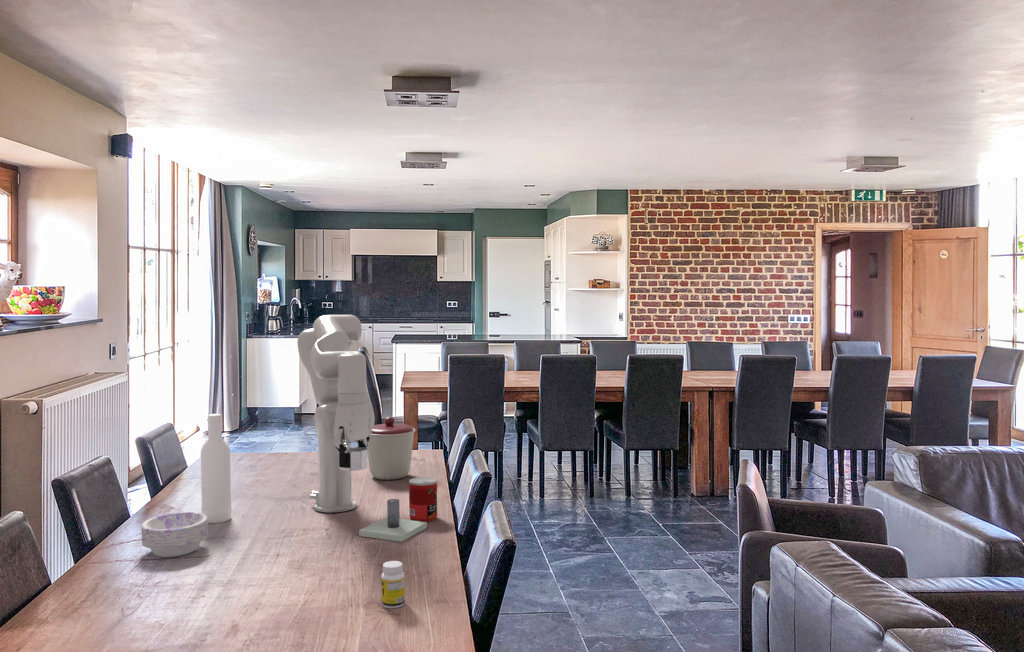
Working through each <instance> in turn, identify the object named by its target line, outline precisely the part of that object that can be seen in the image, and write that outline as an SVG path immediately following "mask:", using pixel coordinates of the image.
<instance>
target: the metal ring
mask: <svg viewBox="0 0 1024 652" xmlns="http://www.w3.org/2000/svg"><path fill="white" fill-rule="evenodd" d="M366 448H367V447H366ZM366 448H364V447H358V446H350V448H349V452H348V453H350V468H342V467H340V469H341V470H346V471H351V472H353V471H354V472H355V471H362V470H365V469H368V454H367V449H366Z"/></svg>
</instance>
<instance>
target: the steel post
mask: <svg viewBox="0 0 1024 652" xmlns="http://www.w3.org/2000/svg"><path fill="white" fill-rule="evenodd" d="M386 501H387V502H386V504H387V505H386V506H387V508H386V510H387V511H386V512H387V513H386V515H387V523H388V527H389V528H397V527H399V526H400V519H401V518H400V499H399V498H389V499H387V500H386Z"/></svg>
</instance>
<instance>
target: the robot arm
mask: <svg viewBox="0 0 1024 652" xmlns="http://www.w3.org/2000/svg"><path fill="white" fill-rule="evenodd" d="M362 327H363V326H362V323H361V321H360V319H359V318H358V317H357V316H356V315H353V314H324V315H321V316H319V317H317V318H316V319H315V320H314V321H313V324H312V328H307V329H305V330H302V331H301V332H300V333H299V334H298V336H297V349H298V350H297V351H298V355H299V358H300V360H301V363H302V364H303V366H304V368H305V369H306V371H307V372H308V375H309V378H310V382H311V387H312V391H313V396H314V399H315V402H316V403H317V405H318V407H317V408H316V409H315V411H314V424H315V430H316V436H317V437H316V438H317V452H318V453H317V457H318V462H317V463H318V490H312V491H311V492H310V494H309V499H311V500H315V503H314V504H313V509H314V510H315V511H317V512H320V513H343V512H347V511H350V510H354V509H356V507H357V506H358V503H357V500H355V499H352V471H346V470H341V469H340V467H342V468H350V453H348V452H349V448H350V447H351V443H352V444H353V443H356V445H357V447H364V448H366V449H367V447H368V442H369V440H370V436H371V433H372V431H371V429H372V427H373V425H375V421H376V420H375V412H374V407H373V404H372V401H371V397H370V394H369V390H368V387H367V358H366V356H365V355H364V354H363V353H362V352H360V351H358V350H354V349H355V347H356V346H357V344H358V343H359V342H360V340H361V337H362V333H363V332H362V330H363V329H362Z"/></svg>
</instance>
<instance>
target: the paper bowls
mask: <svg viewBox="0 0 1024 652" xmlns="http://www.w3.org/2000/svg"><path fill="white" fill-rule="evenodd" d="M208 537H209V523H208V517H207V516H206V515H205V514H202V512H196V511H182V512H181V511H180V512H171V513H165V514H161V515H157V516H156V515H155V516H154V517H150V518H148V519H146V520H145V521H143V523H142V524H141V546H142V547H144V548H147V549H150V551H151V552H152V553H153V554H154V556H157V557H162V558H175V557H180V556H186V555H189V554H191V553H192V552H195V551H196V550H198V548H199V546H200V544H201V542H203V541H204V540H206V539H207V538H208Z"/></svg>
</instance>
